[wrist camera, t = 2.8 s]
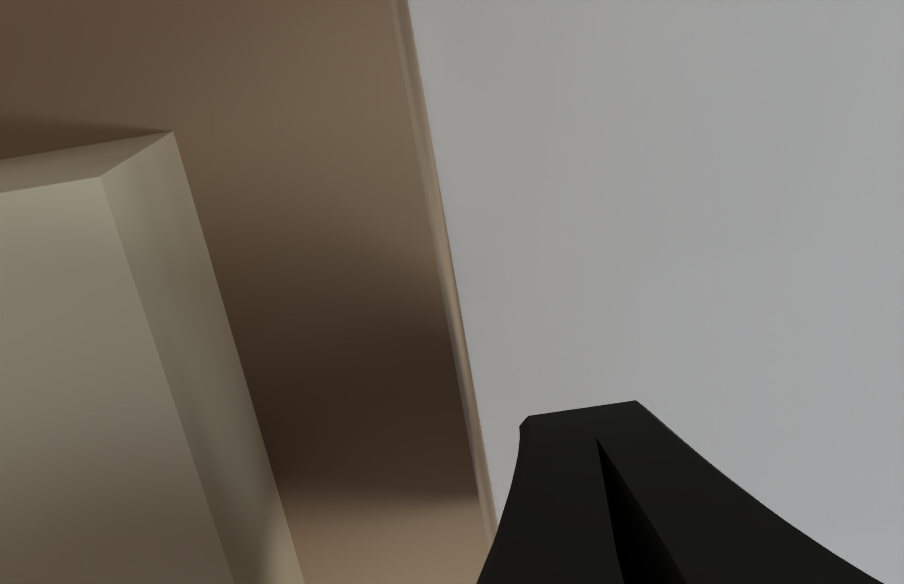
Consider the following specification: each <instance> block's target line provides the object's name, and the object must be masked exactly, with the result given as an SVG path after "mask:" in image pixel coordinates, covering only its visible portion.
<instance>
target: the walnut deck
mask: <svg viewBox="0 0 904 584" xmlns="http://www.w3.org/2000/svg"><path fill="white" fill-rule="evenodd" d="M170 131H173V132H174V135H175V139H176V142H177V146H178V149H179V153H180V156H181V159H182V163H183V166H184V170H185V173H186V177H187V180H188V184H189V187H190V190H191V194H192V197H193V201H194V204H195V208H196V211H197V215H198V218H199V221H200V225H201V228H202V232H203V235H204V239H205V242H206V246H207V249H208V252H209V256H210V259H211V263H212V266H213V270H214V273H215V276H216V280H217V283H218V287H219V290H220V294H221V297H222V301H223V304H224V307H225V311H226V314H227V318H228V321H229V325H230V328H231V332H232V335H233V338H234V342H235V345H236V349H237V352H238V356H239V359H240V363H241V366H242V369H243V373H244V376H245V380H246V383H247V387H248V390H249V393H250V397H251V400H252V404H253V407H254V411H255V414H256V418H257V421H258V424H259V428H260V431H261V435H262V438H263V442H264V445H265V449H266V452H267V455H268V459H269V462H270V466H271V469H272V473H273V476H274V480H275V483H276V486H277V490H278V493H279V497H280V500H281V504H282V507H283V510H284V514H285V517H286V521H287V524H288V528H289V531H290V535H291V538H292V541H293V545H294V548H295V552H296V555H297V559H298V562H299V566H300V569H301V572H302V576H303V579H304V583H305V584H476V583H477V581H478V578H479V576H480V573H481V571H482V568H483V566H484V563H485V561H486V558H487V556H488V554H489V551H490V549H491V546H492V544H493V541H494V538H495V536H496V533H497V530H498V525H497V519H496V514H495V508H494V502H493V496H492V490H491V484H490V479H489V473H488V467H487V461H486V455H485V450H484V444H483V438H482V432H481V426H480V420H479V415H478V409H477V403H476V397H475V391H474V386H473V380H472V374H471V368H470V362H469V356H468V351H467V345H466V339H465V333H464V327H463V321H462V316H461V310H460V304H459V298H458V292H457V287H456V281H455V275H454V269H453V263H452V257H451V252H450V246H449V240H448V234H447V228H446V223H445V217H444V211H443V205H442V199H441V193H440V188H439V182H438V176H437V170H436V164H435V158H434V153H433V147H432V141H431V135H430V129H429V124H428V118H427V112H426V106H425V100H424V94H423V89H422V83H421V77H420V71H419V65H418V60H417V54H416V48H415V42H414V36H413V30H412V25H411V19H410V13H409V7H408V1H407V0H0V160H3V159H9V158H15V157H21V156H27V155H33V154H39V153H45V152H50V151H56V150H62V149H68V148H74V147H80V146H86V145H92V144H98V143H104V142H110V141H116V140H122V139H128V138H134V137H140V136H146V135H152V134H158V133H164V132H170Z"/></svg>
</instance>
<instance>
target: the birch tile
mask: <svg viewBox="0 0 904 584" xmlns="http://www.w3.org/2000/svg"><path fill="white" fill-rule="evenodd" d="M0 584H305V583H304V579H303V576H302V572H301V569H300V566H299V562H298V559H297V555H296V552H295V548H294V545H293V541H292V538H291V535H290V531H289V528H288V524H287V521H286V517H285V514H284V510H283V507H282V504H281V500H280V497H279V493H278V490H277V486H276V483H275V480H274V476H273V473H272V469H271V466H270V462H269V459H268V455H267V452H266V449H265V445H264V442H263V438H262V435H261V431H260V428H259V424H258V421H257V418H256V414H255V411H254V407H253V404H252V400H251V397H250V393H249V390H248V387H247V383H246V380H245V376H244V373H243V369H242V366H241V363H240V359H239V356H238V352H237V349H236V345H235V342H234V338H233V335H232V332H231V328H230V325H229V321H228V318H227V314H226V311H225V307H224V304H223V301H222V297H221V294H220V290H219V287H218V283H217V280H216V276H215V273H214V270H213V266H212V263H211V259H210V256H209V252H208V249H207V246H206V242H205V239H204V235H203V232H202V228H201V225H200V221H199V218H198V215H197V211H196V208H195V204H194V201H193V197H192V194H191V190H190V187H189V184H188V180H187V177H186V173H185V170H184V166H183V163H182V159H181V156H180V153H179V149H178V146H177V142H176V139H175V135H174V132H173V131H170V132H164V133H158V134H152V135H146V136H140V137H134V138H128V139H122V140H116V141H110V142H104V143H98V144H92V145H86V146H80V147H74V148H68V149H62V150H56V151H50V152H45V153H39V154H33V155H27V156H21V157H15V158H9V159H3V160H0Z"/></svg>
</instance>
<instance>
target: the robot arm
mask: <svg viewBox="0 0 904 584" xmlns="http://www.w3.org/2000/svg"><path fill="white" fill-rule="evenodd" d="M519 429H520V442H519V451H518V457H517V462H516V467H515V471H514V476H513V480H512V484H511V488H510V491H509V495H508V498H507V501H506V504H505V507H504V511H503V514H502V517H501V520H500V524H499V527H498V530H497V533H496V536H495V538H494V541H493V544H492V546H491V549H490V551H489V554H488V556H487V558H486V561H485V563H484V566H483V568H482V571H481V573H480V576H479V578H478V581H477V583H476V584H883V583H882V582H880V581H878V580H876V579H875V578H873V577H871V576H869V575H868V574H866V573H864V572H863V571H861V570H860V569H858V568H856V567H855V566H853V565H851V564H850V563H848V562H847V561H845V560H843V559H842V558H840V557H839V556H837V555H835V554H834V553H832V552H831V551H829V550H828V549H826V548H825V547H823V546H822V545H820V544H819V543H817V542H816V541H814V540H813V539H811V538H810V537H808V536H807V535H806V534H804V533H803V532H801V531H800V530H798V529H797V528H795V527H794V526H792V525H791V524H789V523H788V522H786V521H785V520H784V519H782V518H781V517H779V516H778V515H777V514H775V513H774V512H773V511H771V510H770V509H768V508H767V507H766V506H764V505H763V504H762V503H760V502H759V501H758V500H757V499H755V498H754V497H753V496H751V495H750V494H749V493H747V492H746V491H745V490H744V489H742V488H741V487H740V486H738V485H737V484H736V483H735V482H733V481H732V480H731V479H729V478H728V477H727V476H725V475H724V474H723V473H722V472H720V471H719V470H718V469H717V468H715V467H714V466H713V465H712V464H710V463H709V462H708V461H707V460H706V459H704V458H703V457H702V456H701V455H700V454H698V453H697V452H696V451H695V450H694V449H693V448H691V447H690V446H689V445H688V444H687V443H685V442H684V441H683V440H682V439H681V438H680V437H678V436H677V435H676V434H675V433H674V432H673V431H672V430H670V429H669V428H668V427H667V426H666V425H665V424H664V423H662V422H661V421H660V420H659V419H658V418H657V417H656V416H655V415H653V414H652V413H651V412H650V411H649V410H648V409H646V408H645V407H644V406H643V405H641V404H640V403H639V402H637V401H636V400H635V401H628V402H621V403H614V404H607V405H601V406H594V407H587V408H580V409H573V410H566V411H559V412H552V413H545V414H538V415H532V416H528V417H527V418H526V419H525V420H524V421H523V423H522V424H521V425H520V426H519Z"/></svg>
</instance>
